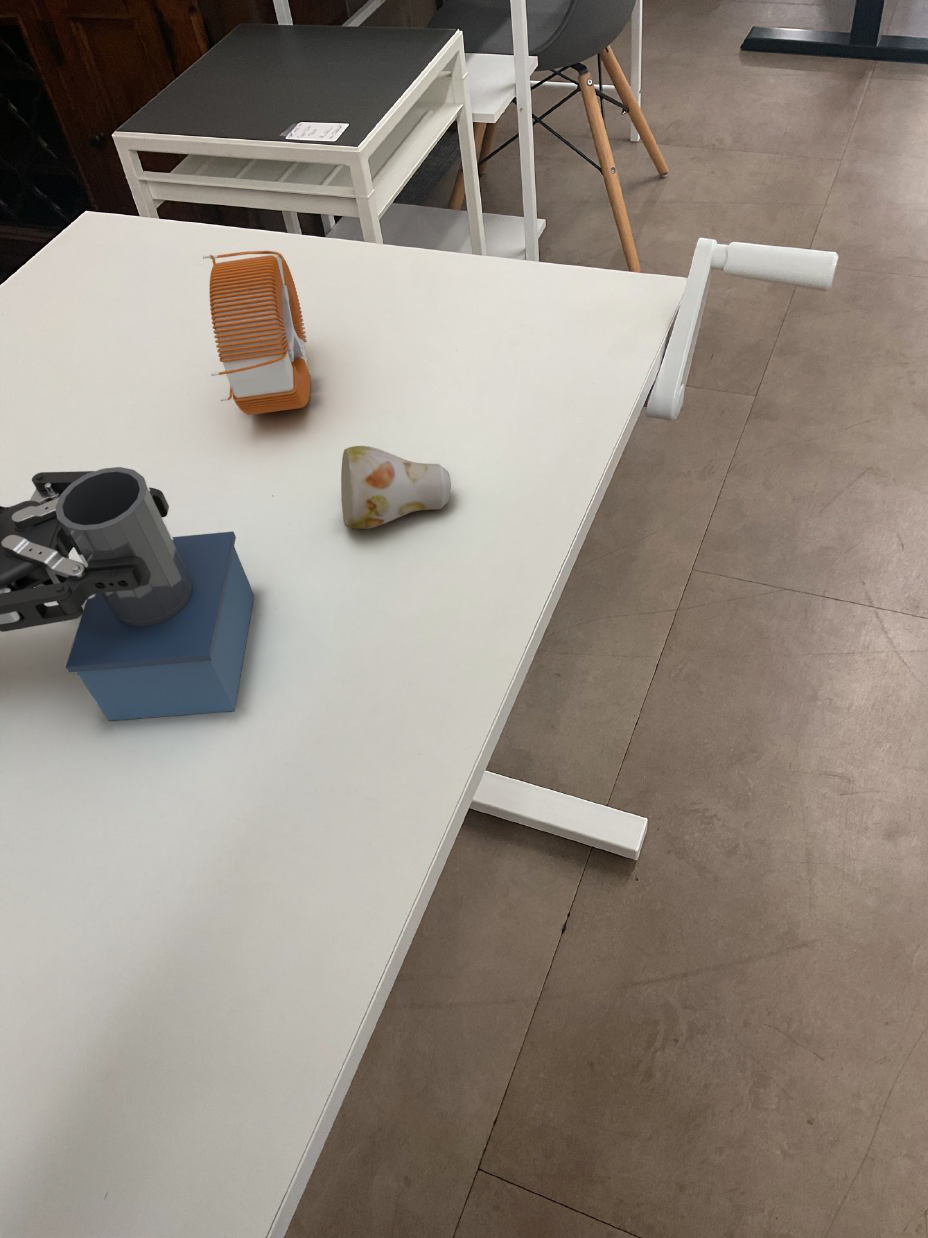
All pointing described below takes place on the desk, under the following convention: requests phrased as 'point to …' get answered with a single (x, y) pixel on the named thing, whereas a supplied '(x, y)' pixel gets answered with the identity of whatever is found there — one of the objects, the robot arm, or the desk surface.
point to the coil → (259, 332)
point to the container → (172, 642)
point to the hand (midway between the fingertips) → (155, 535)
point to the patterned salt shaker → (388, 487)
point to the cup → (126, 541)
